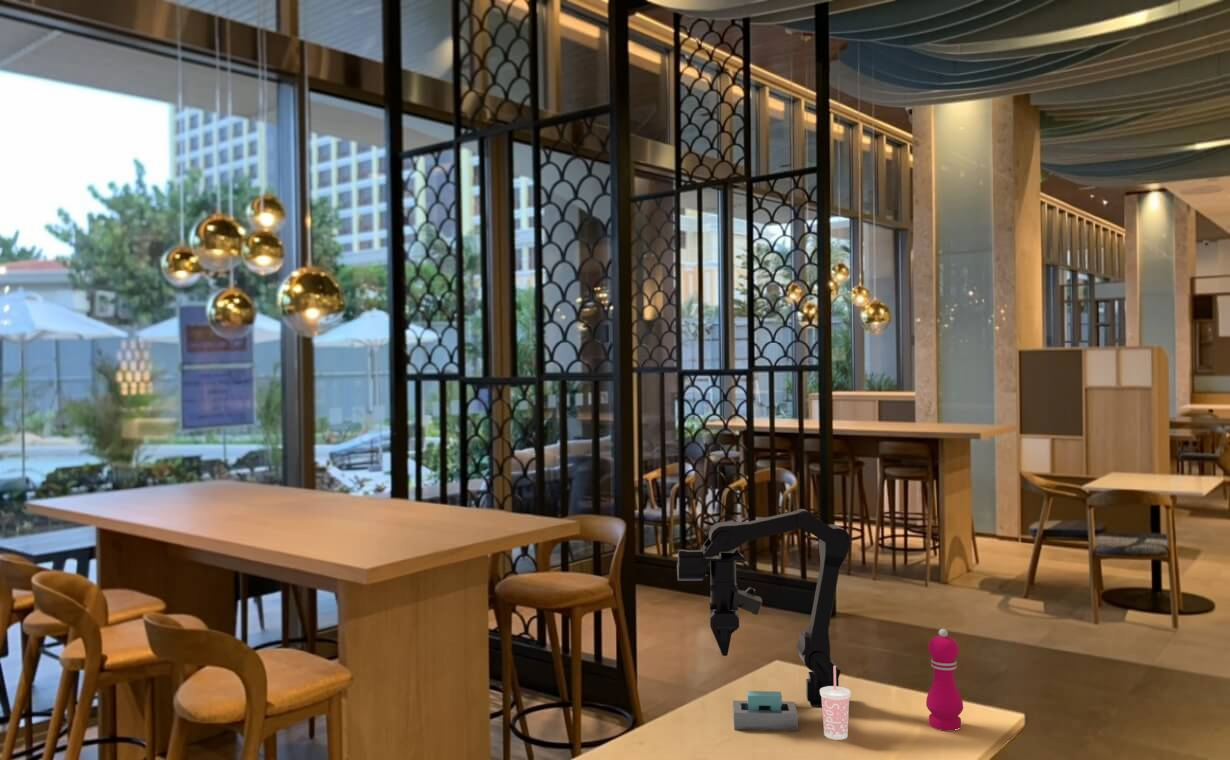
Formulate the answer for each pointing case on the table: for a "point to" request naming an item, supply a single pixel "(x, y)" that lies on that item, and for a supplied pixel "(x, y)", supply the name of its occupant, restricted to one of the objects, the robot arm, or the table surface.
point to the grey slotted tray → (765, 717)
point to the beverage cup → (835, 710)
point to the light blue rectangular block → (764, 700)
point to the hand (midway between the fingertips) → (724, 649)
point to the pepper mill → (944, 684)
